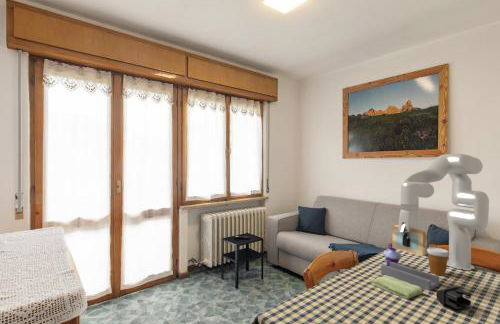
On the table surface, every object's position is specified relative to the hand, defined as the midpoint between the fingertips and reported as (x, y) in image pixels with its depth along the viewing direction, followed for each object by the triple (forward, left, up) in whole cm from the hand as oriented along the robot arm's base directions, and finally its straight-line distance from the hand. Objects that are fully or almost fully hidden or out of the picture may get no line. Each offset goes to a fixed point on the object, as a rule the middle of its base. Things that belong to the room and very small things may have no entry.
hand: (408, 245), depth 128 cm
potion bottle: (-11, -14, -17) cm, 24 cm away
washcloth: (+16, +2, -17) cm, 23 cm away
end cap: (+10, +22, -17) cm, 30 cm away
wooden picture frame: (0, 0, -3) cm, 3 cm away
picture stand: (0, 0, -16) cm, 16 cm away
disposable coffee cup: (-21, +4, -17) cm, 27 cm away
